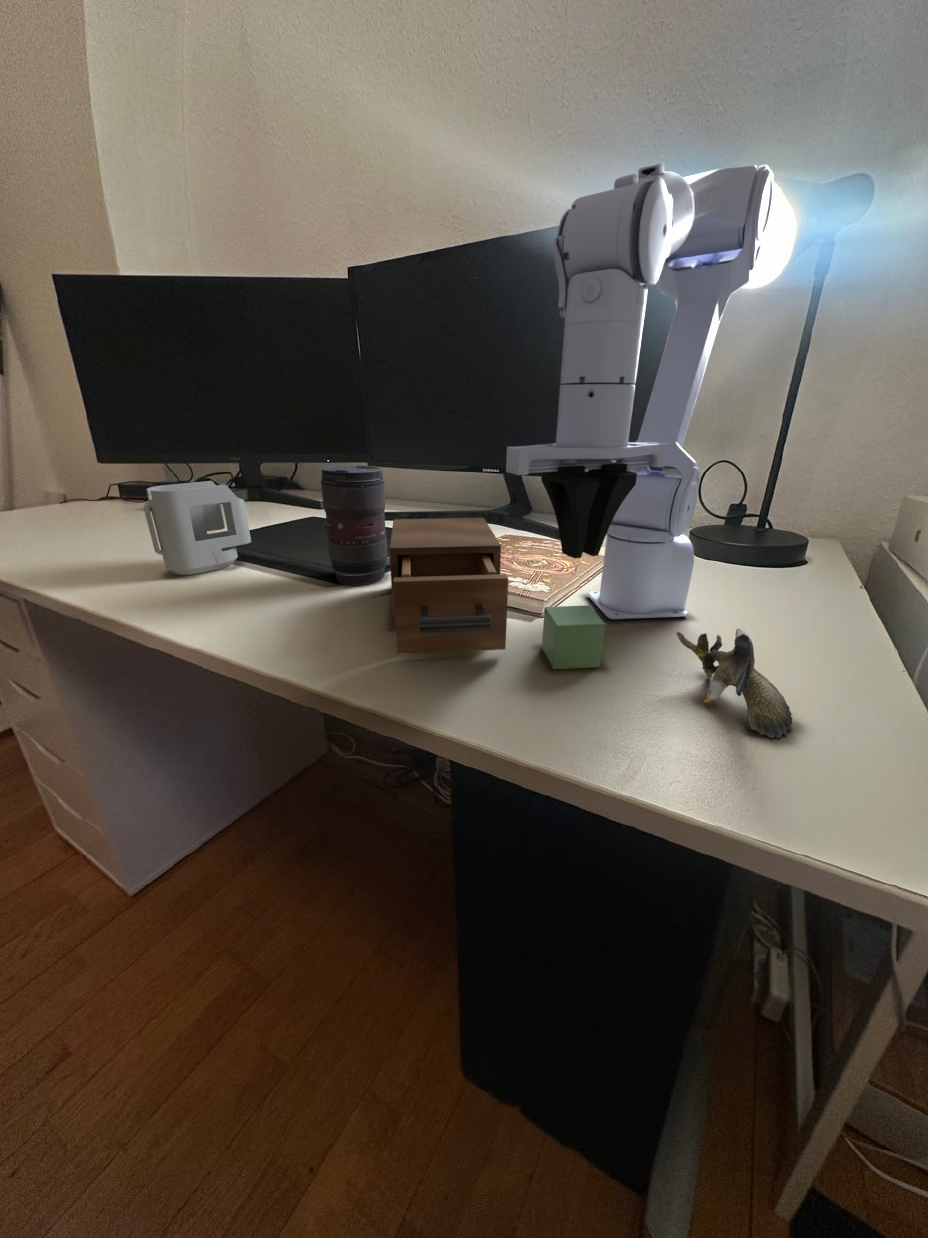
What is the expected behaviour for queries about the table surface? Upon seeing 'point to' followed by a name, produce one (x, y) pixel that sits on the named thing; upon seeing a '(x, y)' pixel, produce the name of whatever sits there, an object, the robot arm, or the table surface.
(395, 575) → the cabinet
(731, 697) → the table surface
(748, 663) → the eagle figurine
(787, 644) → the table surface
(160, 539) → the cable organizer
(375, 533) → the camera lens
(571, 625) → the block
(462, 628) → the drawer
